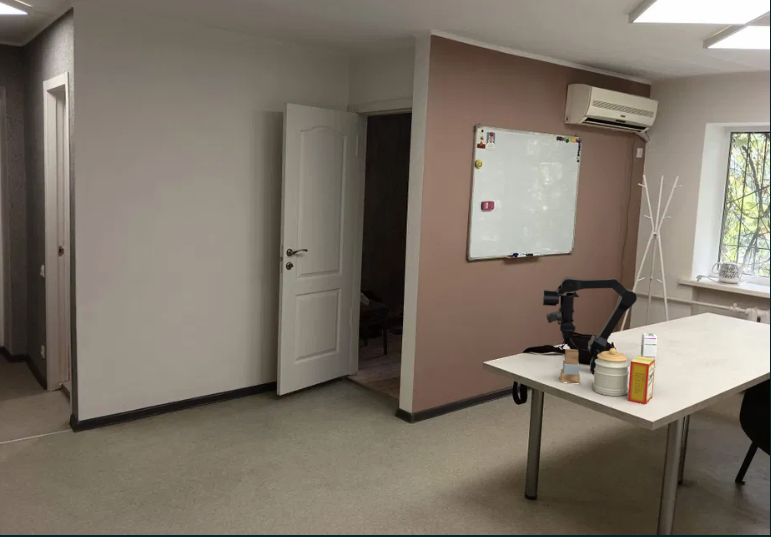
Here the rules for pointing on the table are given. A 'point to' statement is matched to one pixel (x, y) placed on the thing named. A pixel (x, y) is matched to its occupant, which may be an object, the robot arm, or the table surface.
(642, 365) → the baking soda box
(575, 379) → the oak block
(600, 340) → the robot arm
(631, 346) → the table surface
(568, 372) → the grey block
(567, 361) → the walnut cube
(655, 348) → the syrup box
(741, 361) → the table surface
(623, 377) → the jar
